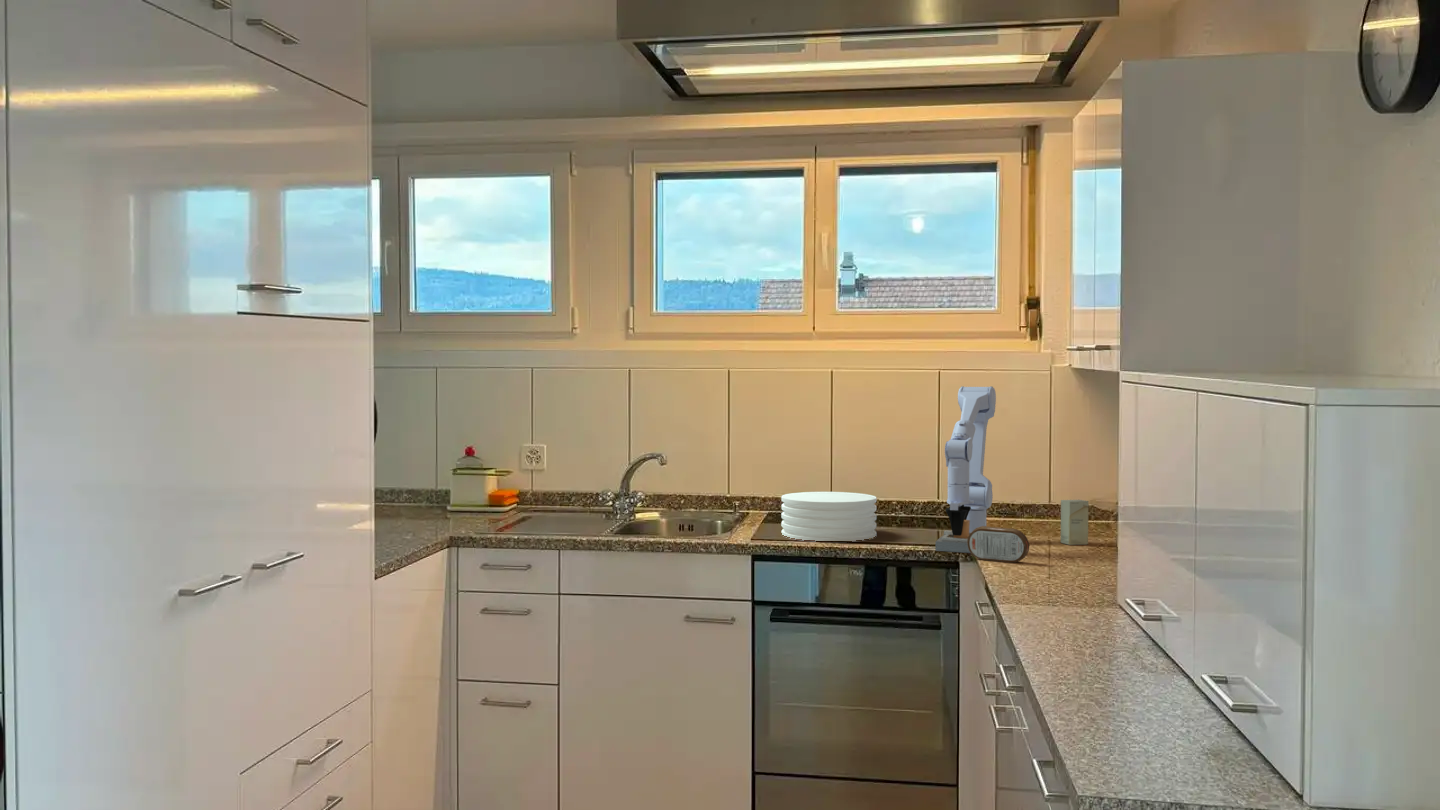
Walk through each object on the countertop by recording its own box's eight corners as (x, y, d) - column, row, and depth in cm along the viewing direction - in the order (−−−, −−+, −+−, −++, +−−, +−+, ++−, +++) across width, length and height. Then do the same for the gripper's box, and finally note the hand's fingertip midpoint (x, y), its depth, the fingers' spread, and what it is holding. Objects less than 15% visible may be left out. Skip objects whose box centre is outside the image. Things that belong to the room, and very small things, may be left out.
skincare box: (1069, 545, 266) (1069, 501, 265) (1059, 543, 270) (1059, 499, 270) (1089, 544, 267) (1089, 500, 267) (1079, 542, 271) (1079, 499, 271)
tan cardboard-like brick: (955, 540, 262) (956, 519, 262) (968, 542, 261) (969, 520, 261) (953, 542, 259) (954, 520, 259) (966, 544, 258) (967, 521, 258)
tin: (1029, 562, 239) (1029, 529, 239) (1026, 564, 237) (1026, 530, 236) (969, 557, 247) (969, 524, 247) (965, 559, 244) (966, 526, 244)
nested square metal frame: (943, 544, 268) (943, 530, 268) (980, 546, 264) (980, 532, 264) (935, 550, 257) (935, 536, 257) (973, 553, 253) (973, 538, 253)
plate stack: (883, 542, 271) (883, 502, 271) (783, 542, 272) (783, 502, 272) (869, 528, 299) (869, 491, 299) (779, 528, 300) (779, 491, 300)
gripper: (969, 486, 252) (969, 538, 252) (977, 482, 265) (977, 531, 265) (942, 485, 255) (942, 537, 255) (951, 481, 268) (951, 529, 268)
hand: (958, 534), depth 260 cm, fingers closed on tan cardboard-like brick, 3 cm apart
